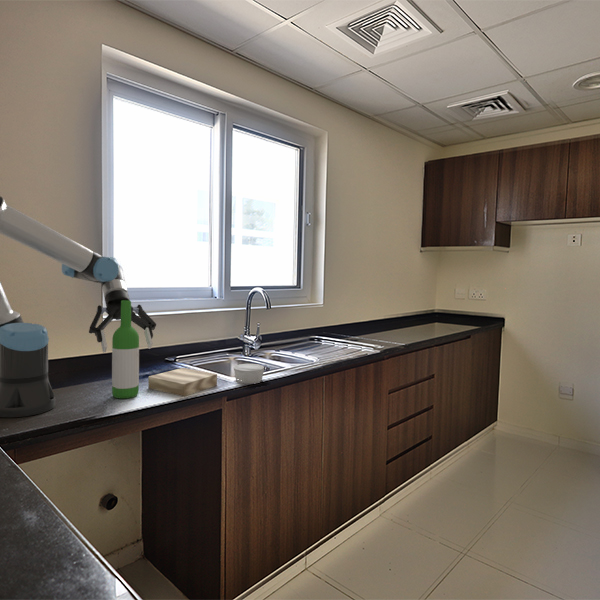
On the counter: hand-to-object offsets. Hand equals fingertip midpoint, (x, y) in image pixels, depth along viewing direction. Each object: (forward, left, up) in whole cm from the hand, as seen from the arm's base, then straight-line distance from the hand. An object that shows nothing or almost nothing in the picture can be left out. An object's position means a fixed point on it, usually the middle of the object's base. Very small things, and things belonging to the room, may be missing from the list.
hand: (128, 348), depth 135 cm
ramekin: (+38, -19, -16) cm, 45 cm away
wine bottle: (0, +1, -15) cm, 15 cm away
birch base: (+18, -6, -15) cm, 24 cm away
